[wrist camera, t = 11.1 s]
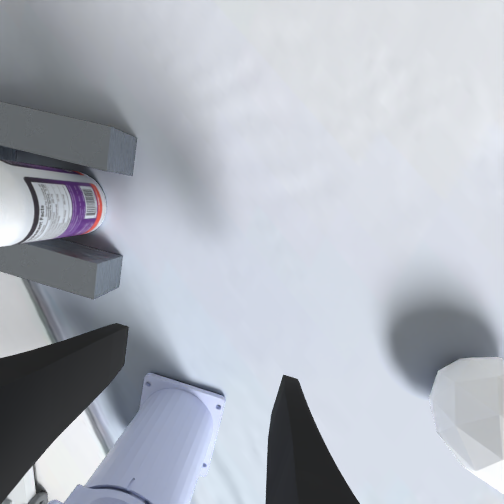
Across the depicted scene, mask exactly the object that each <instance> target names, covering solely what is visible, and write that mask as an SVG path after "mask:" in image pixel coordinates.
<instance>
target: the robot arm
mask: <svg viewBox="0 0 504 504" xmlns="http://www.w3.org/2000/svg"><path fill="white" fill-rule="evenodd" d="M128 328H129V327H127V326H124V325H121V324H118V323H115V324H112V325H108V326H105V327H102V328H99V329H96V330H93V331H90V332H87V333H85V334H82V335H79V336H76V337H73V338H70V339H67V340H64V341H61V342H57V343H54V344H51V345H48V346H44V347H41V348H38V349H34V350H31V351H27V352H24V353H20V354H16V355H12V356H8V357H4V358H0V504H2V502H3V501H4V500H5V499H6V498H7V496H8V495H9V494H10V493H11V491H12V490H13V489H14V488H15V486H16V485H17V484H18V483H19V482H20V480H21V479H22V478H23V477H24V475H25V474H26V473H27V472H28V471H29V469H30V468H31V467H32V466H33V465H34V464H35V462H36V461H37V460H38V459H39V458H40V456H41V455H42V454H43V453H44V452H45V451H46V449H47V448H48V447H49V446H50V445H51V444H52V443H53V441H54V440H55V439H56V438H57V437H58V436H59V435H60V434H61V433H62V432H63V431H64V430H65V429H66V428H67V427H68V426H69V425H70V424H71V423H72V422H73V421H74V420H75V419H76V418H77V417H78V416H79V415H80V414H81V413H82V412H83V411H84V410H85V409H86V408H87V407H88V406H89V405H90V404H91V403H92V402H93V401H94V399H95V398H96V397H97V396H98V395H99V394H100V393H101V392H102V391H103V390H104V389H105V388H106V387H107V386H108V385H109V384H110V382H111V381H112V380H113V379H114V377H115V376H116V375H117V374H118V372H119V371H120V370H121V368H122V367H123V366H124V361H125V353H126V345H127V336H128ZM148 382H150V383H148ZM225 402H226V399H225V398H224V396H222V395H219V394H216V393H213V392H209V391H206V390H203V389H200V388H197V387H194V386H191V385H188V384H185V383H181V382H178V381H175V380H172V379H169V378H166V377H163V376H160V375H157V374H153V373H147V374H146V376H145V377H144V382H143V389H142V395H141V401H140V408H139V411H138V413H137V414H136V415H135V417H134V418H133V420H132V421H131V422H130V424H129V425H128V426H127V428H126V429H125V431H124V432H123V433H122V435H121V436H120V437H119V439H118V440H117V442H116V443H115V444H114V446H113V447H112V448H111V450H110V451H109V453H108V454H107V455H106V457H105V458H104V459H103V461H102V462H101V464H100V465H99V466H98V468H97V469H96V471H95V472H94V473H93V475H92V476H91V477H90V479H89V480H88V482H87V483H86V484H85V486H82V485H80V484H79V485H77V486H76V488H75V489H74V490H73V492H72V493H71V494H70V496H69V497H68V498H67V500H66V501H65V502H64V504H190V501H191V498H192V495H193V492H194V489H195V486H196V483H197V480H198V477H199V476H202V477H205V476H206V475H207V473H208V470H209V466H210V462H211V458H212V454H213V450H214V446H215V442H216V438H217V434H218V430H219V426H220V422H221V418H222V414H223V410H224V406H225ZM218 405H220V406H218ZM47 504H63V503H62V502H60V501H58V500H52V501H50V502H48V503H47ZM266 504H360V503H359V502H358V500H357V499H356V497H355V496H354V494H353V493H352V491H351V489H350V488H349V486H348V484H347V483H346V481H345V479H344V478H343V476H342V474H341V473H340V471H339V469H338V467H337V466H336V464H335V462H334V460H333V458H332V456H331V454H330V453H329V451H328V449H327V447H326V445H325V443H324V441H323V439H322V437H321V434H320V432H319V430H318V428H317V426H316V423H315V421H314V419H313V417H312V414H311V412H310V410H309V407H308V405H307V402H306V400H305V397H304V394H303V392H302V389H301V386H300V383H299V381H298V379H296V378H293V377H289V376H286V375H283V377H282V381H281V384H280V387H279V391H278V394H277V397H276V400H275V404H274V407H273V410H272V414H271V421H270V428H269V436H268V453H267V481H266Z"/></svg>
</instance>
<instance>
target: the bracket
mask: <svg viewBox="0 0 504 504" xmlns="http://www.w3.org/2000/svg"><path fill="white" fill-rule="evenodd" d="M136 142H137V138H136V137H134V136H131V135H129V134H127V133H125V132H122V131H120V130H118V129H116V128H113V127H111V126H107V125H102V124H98V123H93V122H89V121H84V120H80V119H76V118H71V117H67V116H62V115H58V114H53V113H49V112H44V111H40V110H35V109H31V108H27V107H22V106H18V105H13V104H9V103H4V102H0V159H2V160H8V161H14V162H16V149H17V150H21V151H25V152H30V153H34V154H38V155H42V156H46V157H50V158H54V159H58V160H62V161H66V162H71V163H75V164H79V165H83V166H87V167H91V168H95V169H99V170H103V171H108V172H113V173H119V174H124V175H130V176H132V175H133V167H134V159H135V150H136ZM122 258H123V256H121V255H117V254H113V253H110V252H106V251H103V250H99V249H95V248H92V247H88V246H84V245H81V244H77V243H74V242H70V241H66V240H63V239H59V238H56V239H49V240H42V241H36V242H29V243H24V244H17V245H11V246H2V247H0V272H4V273H7V274H11V275H14V276H17V277H21V278H24V279H27V280H31V281H34V282H37V283H41V284H44V285H47V286H51V287H54V288H57V289H61V290H64V291H68V292H71V293H74V294H78V295H81V296H84V297H88V298H91V299H96V298H98V297H100V296H102V295H104V294H106V293H108V292H110V291H112V290H114V289H116V288H118V287H119V282H120V274H121V266H122Z"/></svg>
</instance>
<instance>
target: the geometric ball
mask: <svg viewBox="0 0 504 504" xmlns="http://www.w3.org/2000/svg"><path fill="white" fill-rule="evenodd" d="M429 403H430V407H431V411H432V415H433V419H434V423H435V427H436V430H437V433H438V435H439V436H440V437H441V439H442V440H443V441H444V443H445V444H446V445H447V447H448V448H449V449H450V451H451V452H452V453H453V455H454V456H455V457H456V459H457V460H458V462H459V463H460V464H461V466H463V467H464V468H466V469H467V470H469V471H470V472H472V473H473V474H474V475H476V476H477V477H479V478H480V479H482V480H483V481H485V482H486V483H488V484H489V485H491V486H492V487H494V488H495V489H497V490H498V491H500V492H501V493H502V494H504V359H502V358H499V357H473V358H461V359H458V360H456V361H455V362H453V363H451V364H449V365H447V366H446V367H444V368H442V369H440V370H438V372H437V375H436V378H435V381H434V384H433V387H432V390H431V393H430V396H429Z"/></svg>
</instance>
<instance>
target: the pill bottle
mask: <svg viewBox="0 0 504 504" xmlns="http://www.w3.org/2000/svg"><path fill="white" fill-rule="evenodd" d="M105 214H106V199H105V196H104V193H103V191H102V189H101V187H100V186H99V185H98V183H97V182H96V181H95V180H94V179H93V178H91V177H90V176H88V175H86V174H84V173H82V172H78V171H73V170H67V169H60V168H54V167H47V166H40V165H34V164H27V163H21V162H14V161H8V160H2V159H0V247H2V246H11V245H17V244H24V243H29V242H36V241H42V240H49V239H56V238H62V237H69V236H76V235H82V234H87V233H90V232H92V231H94V230H96V229H97V228H98V227H99V226H100V225H101V224H102V222H103V220H104V218H105Z"/></svg>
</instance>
